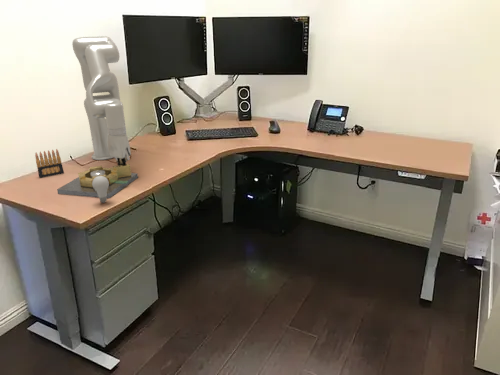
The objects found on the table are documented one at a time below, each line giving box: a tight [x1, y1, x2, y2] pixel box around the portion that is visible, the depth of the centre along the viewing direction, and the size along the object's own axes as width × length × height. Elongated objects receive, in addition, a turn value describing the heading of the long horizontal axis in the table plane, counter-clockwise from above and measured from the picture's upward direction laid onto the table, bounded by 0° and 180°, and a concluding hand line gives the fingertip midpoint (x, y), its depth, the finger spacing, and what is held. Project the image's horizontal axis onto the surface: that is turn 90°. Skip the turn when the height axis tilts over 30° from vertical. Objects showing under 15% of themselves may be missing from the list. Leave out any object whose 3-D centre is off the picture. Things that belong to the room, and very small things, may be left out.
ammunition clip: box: [34, 148, 65, 179], centre depth 194 cm, size 11×2×12 cm, turn 123°
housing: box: [56, 170, 139, 199], centre depth 182 cm, size 24×25×6 cm
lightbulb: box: [92, 176, 109, 203], centre depth 164 cm, size 6×6×11 cm
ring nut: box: [77, 163, 132, 188], centre depth 182 cm, size 21×15×5 cm
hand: (122, 170), depth 189 cm, fingers closed
